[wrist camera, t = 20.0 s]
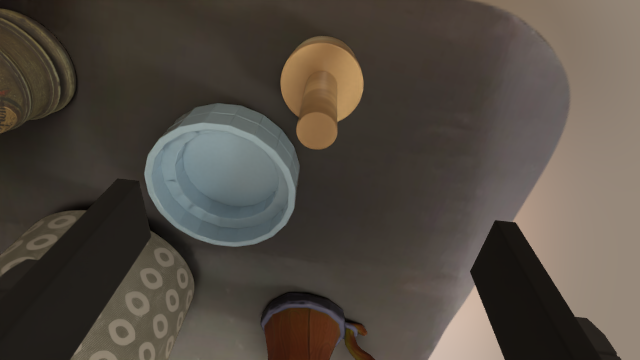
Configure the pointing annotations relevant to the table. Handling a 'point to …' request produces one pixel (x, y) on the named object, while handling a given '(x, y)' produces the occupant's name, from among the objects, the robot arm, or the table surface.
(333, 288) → the table surface
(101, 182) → the table surface
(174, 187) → the bowl
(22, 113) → the container
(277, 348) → the mug
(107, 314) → the planter
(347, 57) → the brush
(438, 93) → the table surface
